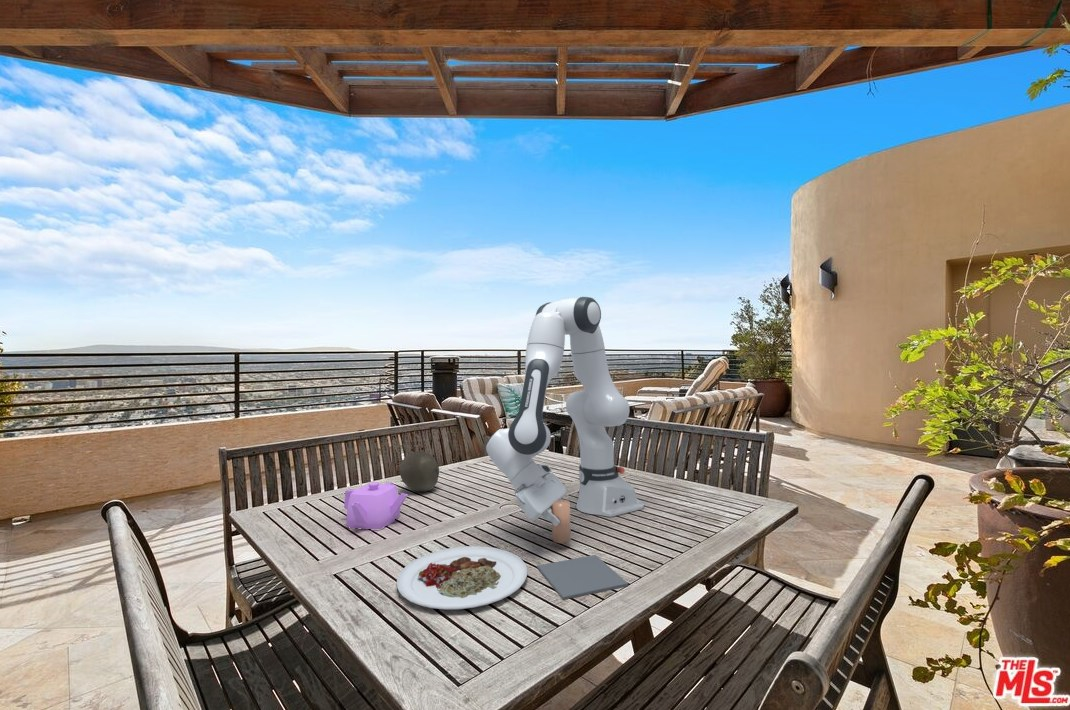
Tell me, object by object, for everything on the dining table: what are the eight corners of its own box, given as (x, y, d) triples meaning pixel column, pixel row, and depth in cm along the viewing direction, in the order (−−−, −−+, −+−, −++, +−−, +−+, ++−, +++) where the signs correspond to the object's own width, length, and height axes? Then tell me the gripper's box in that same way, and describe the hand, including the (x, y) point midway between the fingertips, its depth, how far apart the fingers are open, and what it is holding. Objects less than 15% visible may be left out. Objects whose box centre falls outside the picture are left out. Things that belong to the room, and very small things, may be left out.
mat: (595, 557, 124) (595, 554, 124) (628, 585, 109) (628, 583, 109) (536, 567, 118) (536, 565, 118) (563, 599, 103) (563, 597, 103)
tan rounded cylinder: (566, 534, 134) (565, 498, 133) (573, 541, 129) (572, 504, 128) (549, 537, 132) (548, 501, 131) (556, 544, 127) (555, 506, 127)
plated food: (543, 602, 103) (543, 586, 103) (397, 628, 94) (397, 611, 94) (510, 546, 131) (510, 534, 131) (396, 562, 123) (396, 549, 123)
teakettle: (392, 509, 163) (391, 472, 163) (410, 524, 149) (409, 484, 149) (339, 520, 153) (338, 481, 153) (353, 537, 139) (352, 494, 139)
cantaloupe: (427, 484, 192) (426, 446, 192) (446, 491, 181) (445, 452, 181) (394, 491, 182) (393, 452, 182) (412, 500, 172) (411, 458, 172)
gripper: (519, 483, 123) (555, 526, 119) (550, 464, 142) (583, 500, 138) (504, 499, 125) (540, 541, 121) (537, 477, 144) (568, 514, 140)
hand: (563, 519), depth 130 cm, fingers closed on tan rounded cylinder, 5 cm apart
